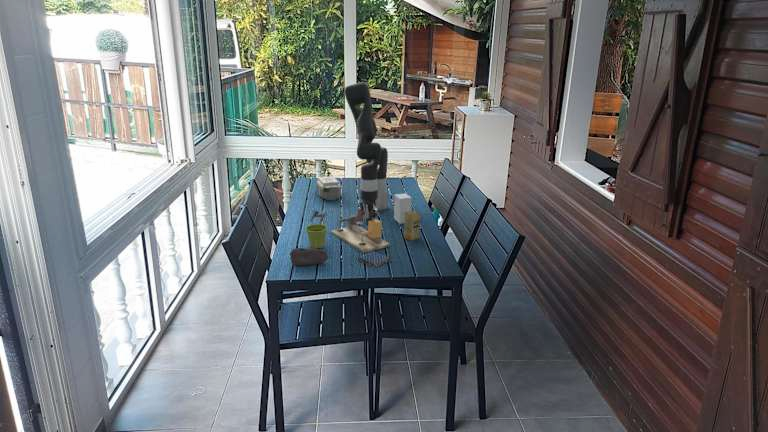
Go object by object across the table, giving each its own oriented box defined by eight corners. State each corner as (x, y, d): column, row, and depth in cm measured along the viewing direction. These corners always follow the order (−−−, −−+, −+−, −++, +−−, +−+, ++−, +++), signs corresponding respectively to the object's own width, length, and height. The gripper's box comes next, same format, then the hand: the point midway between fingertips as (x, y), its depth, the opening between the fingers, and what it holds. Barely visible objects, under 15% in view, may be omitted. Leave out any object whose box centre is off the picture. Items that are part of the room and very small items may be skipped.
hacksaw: (314, 212, 268) (314, 210, 267) (334, 213, 267) (334, 210, 267) (305, 229, 245) (305, 226, 244) (327, 229, 244) (326, 226, 244)
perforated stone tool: (327, 260, 210) (327, 244, 207) (328, 265, 205) (328, 249, 202) (290, 262, 207) (289, 246, 205) (290, 268, 202) (289, 252, 200)
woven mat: (356, 261, 210) (356, 256, 209) (374, 254, 217) (374, 249, 216) (373, 269, 203) (373, 264, 202) (392, 261, 210) (392, 256, 210)
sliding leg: (376, 235, 229) (376, 219, 226) (381, 238, 226) (381, 221, 223) (358, 240, 224) (358, 222, 221) (363, 242, 221) (363, 225, 218)
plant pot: (318, 252, 217) (318, 233, 215) (301, 247, 222) (300, 228, 219) (332, 245, 225) (331, 226, 222) (315, 240, 230) (314, 222, 227)
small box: (411, 222, 253) (412, 197, 249) (399, 224, 251) (400, 198, 247) (405, 217, 260) (405, 193, 256) (393, 218, 258) (394, 194, 254)
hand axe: (345, 209, 272) (364, 207, 272) (346, 212, 273) (364, 210, 273) (341, 225, 247) (362, 224, 246) (342, 229, 247) (362, 227, 247)
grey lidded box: (323, 203, 280) (322, 185, 278) (314, 192, 307) (314, 175, 304) (344, 201, 283) (343, 183, 281) (334, 190, 310) (333, 174, 307)
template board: (357, 227, 246) (357, 213, 244) (390, 246, 224) (390, 231, 222) (331, 232, 239) (331, 218, 237) (362, 252, 217) (362, 237, 215)
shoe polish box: (419, 237, 234) (420, 213, 230) (411, 240, 231) (412, 215, 227) (411, 235, 237) (411, 210, 233) (403, 237, 234) (404, 213, 230)
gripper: (384, 190, 219) (384, 228, 225) (368, 183, 230) (368, 219, 235) (369, 193, 215) (369, 231, 221) (353, 186, 226) (354, 222, 231)
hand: (368, 225), depth 228 cm, fingers closed
